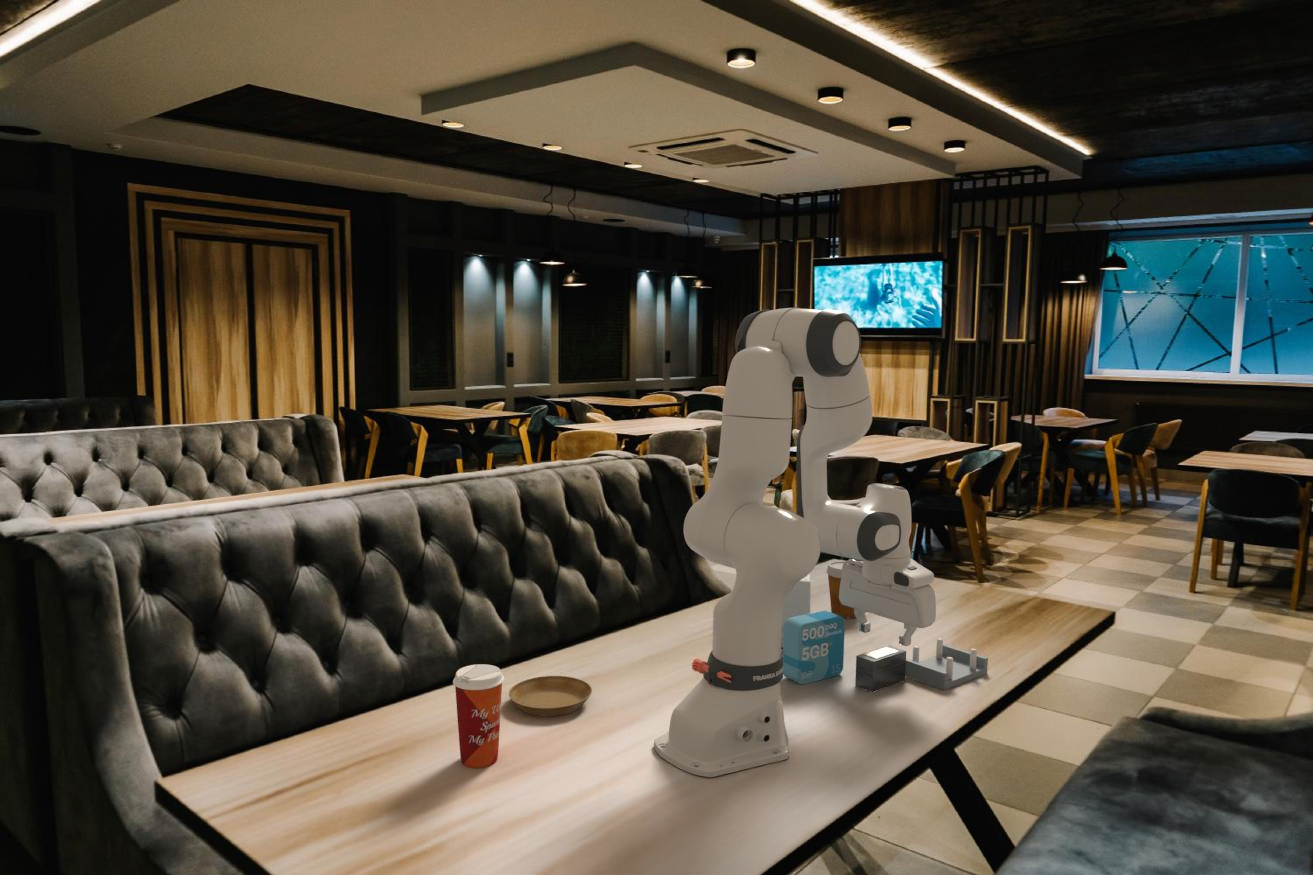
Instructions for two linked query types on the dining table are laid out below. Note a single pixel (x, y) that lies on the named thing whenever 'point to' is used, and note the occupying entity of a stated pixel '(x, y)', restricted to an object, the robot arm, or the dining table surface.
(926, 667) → the tray
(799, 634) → the data package
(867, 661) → the block
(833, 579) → the disposable coffee cup
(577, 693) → the plant saucer
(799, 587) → the supplement box
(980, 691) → the dining table surface
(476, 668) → the paper cup
